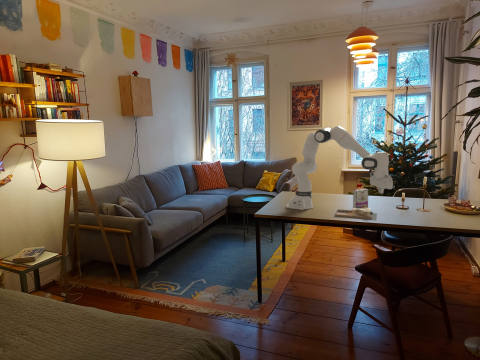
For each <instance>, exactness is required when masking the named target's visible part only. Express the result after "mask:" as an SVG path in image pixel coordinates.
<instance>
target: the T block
mask: <svg viewBox="0 0 480 360" xmlns="http://www.w3.org/2000/svg"><path fill="white" fill-rule="evenodd" d="M352 210H353V211H352V215H355V216H368V217H369V216H370V212H371V207H368V208H364V209H361V208H353V207H352Z"/></svg>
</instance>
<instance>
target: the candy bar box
mask: <svg viewBox="0 0 480 360" xmlns="http://www.w3.org/2000/svg"><path fill="white" fill-rule="evenodd" d="M353 208H361V209H364V208H369V189H368V188H358V189H353V191H352V209H353Z"/></svg>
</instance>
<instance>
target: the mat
mask: <svg viewBox="0 0 480 360" xmlns="http://www.w3.org/2000/svg"><path fill="white" fill-rule="evenodd" d="M352 211H353V209H352V210H350V209H341V208H340V209H339V208H337V210H336V211H335V213H334V215H333V216H332V217H333V218H339V219H340V218H341V219H354V220H365V221H366V220H367V221H377V217H378V213H376V212H375V213H374V211H370V216H369V217H368V216H355V215H352Z"/></svg>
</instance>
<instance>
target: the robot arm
mask: <svg viewBox="0 0 480 360" xmlns="http://www.w3.org/2000/svg"><path fill="white" fill-rule="evenodd" d="M331 140H333V141H335V143H336V144H338V145H339V146H340V147H341V148H343V149H345V150H349V151H352V152H355V153H356V154H357V155H358V156H359V157H360V158H361V163H360V164H361V167H362V168H363V169H365V170H368V171H369V170H373V169H374V171H372V172H370V174H369V175H370V177H369V184H370V186H375V187H377V190H378V193H379V194H381V195H382V194H384V190H385V189H387V190H392V189H393V188H394V182H393V178H392V176H391V175H389V163H390V162H389V159H390V157H389V154H388V153H387V152H384V151H376V152H375V153H373V154H372V153H371V152H370V151H368V150H366V149H365V148H364V146H362V145H361V144H360V143H359V142H358V141H357V140H356V139H355V138H354V136H352V134H351V133H349V131H348V130H346V129H345V128H343V127H342V126H340V125H336V126H333V128H332V127H331V126H328V127H327V126H326V127H322V128H319V129H318V130H316V132H310V133H309V134H308V135H307V136H306V140H305V142H304V145H303V148H302V152H301V154H302V156H303V161H298V162H295V163H294V164H293V165H292V166H291V171H292V173H293V175H294V176H295V177H296V180H297V189H296V191H295V195H293V196H292V197H291V198H290V199H288V200H289V201H288V203H287V204H286V205H285V208H287V209H293V210H301V211H303V210H311V209H313V208H314V206H313V201H312V199H313V198H312V197H313V192H312V180H310V178H309V175H310V174H313V173H314V172H316V171H317V169H318V164H317V162H316V156H317V154H318V153H317V152H318V148H319V146H320V144H324V143H328V142H330V141H331Z"/></svg>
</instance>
